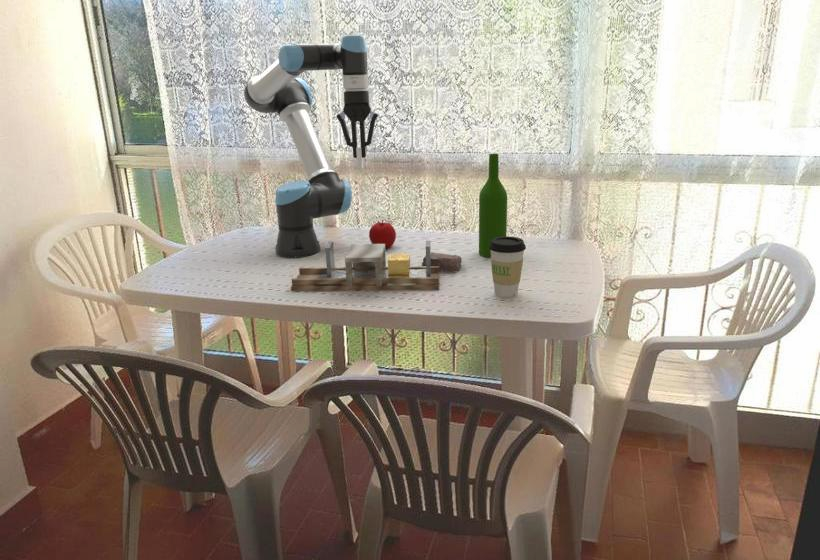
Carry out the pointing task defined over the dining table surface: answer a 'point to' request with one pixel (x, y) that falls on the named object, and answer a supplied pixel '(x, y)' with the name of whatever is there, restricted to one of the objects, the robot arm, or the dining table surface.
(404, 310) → the dining table surface
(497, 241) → the coffee cup
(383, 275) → the grey u-shaped piece
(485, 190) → the wine bottle
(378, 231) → the apple
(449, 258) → the stone
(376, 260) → the tunnel board
